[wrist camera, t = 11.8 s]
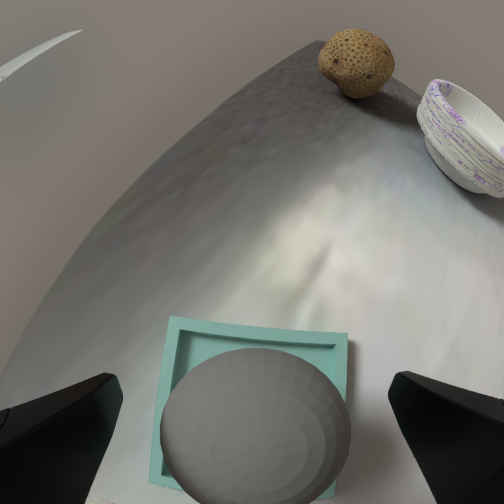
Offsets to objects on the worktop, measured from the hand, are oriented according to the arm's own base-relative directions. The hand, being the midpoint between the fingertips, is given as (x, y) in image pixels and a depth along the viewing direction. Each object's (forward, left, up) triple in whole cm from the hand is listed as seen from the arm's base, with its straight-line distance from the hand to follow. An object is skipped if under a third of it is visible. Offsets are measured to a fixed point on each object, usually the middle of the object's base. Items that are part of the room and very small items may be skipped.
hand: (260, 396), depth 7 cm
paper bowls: (+25, -23, -9) cm, 35 cm away
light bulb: (-2, 0, -8) cm, 8 cm away
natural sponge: (+34, -9, -9) cm, 36 cm away
